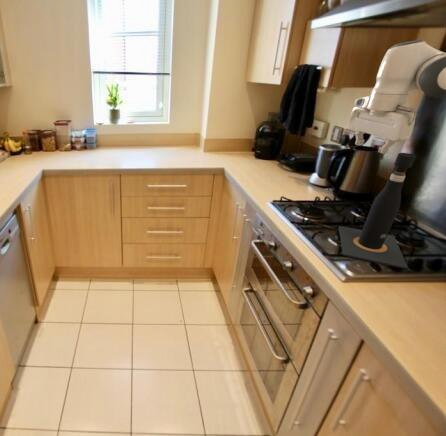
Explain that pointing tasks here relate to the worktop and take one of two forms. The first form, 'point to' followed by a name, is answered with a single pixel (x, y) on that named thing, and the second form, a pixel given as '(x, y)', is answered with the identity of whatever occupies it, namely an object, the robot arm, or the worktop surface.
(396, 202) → the wine bottle
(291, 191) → the worktop surface
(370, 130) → the robot arm
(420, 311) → the worktop surface
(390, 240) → the centre mat
